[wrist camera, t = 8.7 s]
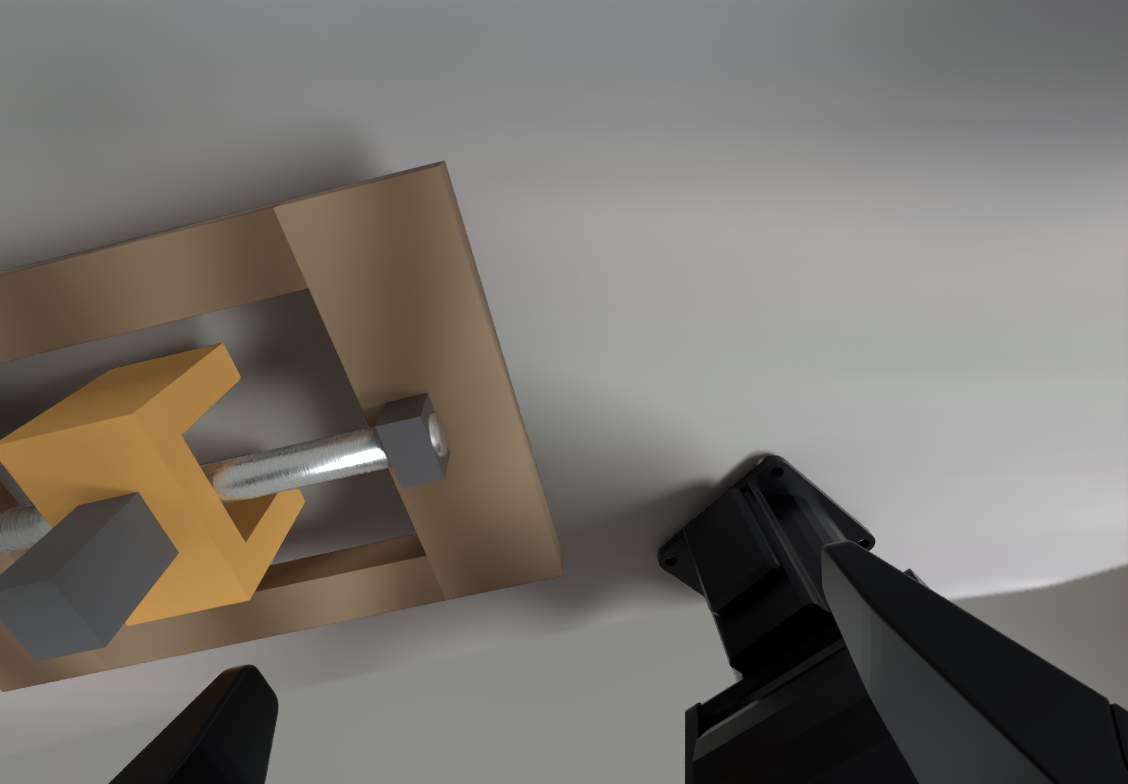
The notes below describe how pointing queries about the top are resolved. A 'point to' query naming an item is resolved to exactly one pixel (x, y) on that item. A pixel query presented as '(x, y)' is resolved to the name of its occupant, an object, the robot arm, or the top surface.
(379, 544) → the wooden frame with rod
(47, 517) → the yellow block
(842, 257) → the top surface
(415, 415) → the silver metal rod
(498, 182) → the top surface
